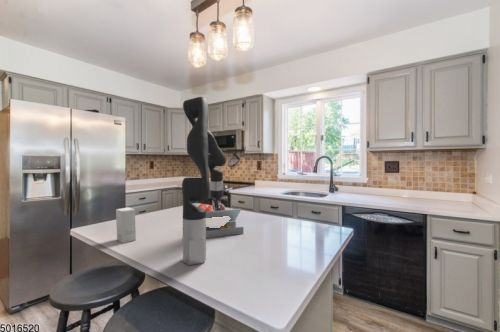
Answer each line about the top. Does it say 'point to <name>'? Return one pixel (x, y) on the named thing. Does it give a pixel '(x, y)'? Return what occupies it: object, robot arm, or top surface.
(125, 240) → the skincare box
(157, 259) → the top surface
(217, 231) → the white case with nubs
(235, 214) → the cover
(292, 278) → the top surface
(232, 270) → the top surface
